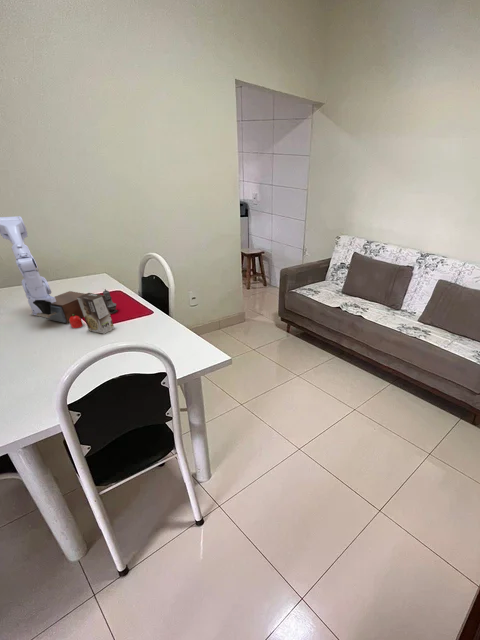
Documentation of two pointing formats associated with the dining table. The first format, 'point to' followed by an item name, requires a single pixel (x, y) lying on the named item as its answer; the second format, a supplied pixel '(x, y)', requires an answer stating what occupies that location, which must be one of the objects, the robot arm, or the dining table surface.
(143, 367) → the dining table surface
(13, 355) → the dining table surface
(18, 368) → the dining table surface
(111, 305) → the grey statue
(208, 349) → the dining table surface
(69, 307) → the cabinet
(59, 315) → the drawer
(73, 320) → the pepper
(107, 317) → the coffee box
